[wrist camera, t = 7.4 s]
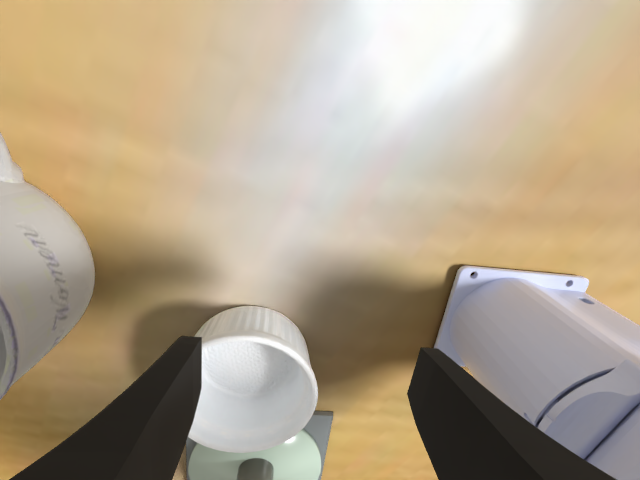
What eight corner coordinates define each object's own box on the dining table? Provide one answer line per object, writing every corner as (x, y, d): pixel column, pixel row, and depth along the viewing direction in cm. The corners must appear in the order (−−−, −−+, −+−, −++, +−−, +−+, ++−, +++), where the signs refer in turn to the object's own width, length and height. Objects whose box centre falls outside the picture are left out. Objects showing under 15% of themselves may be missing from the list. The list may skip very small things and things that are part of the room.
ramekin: (191, 287, 21) (167, 328, 17) (325, 306, 22) (333, 348, 18) (182, 392, 24) (159, 448, 20) (301, 403, 25) (302, 458, 21)
